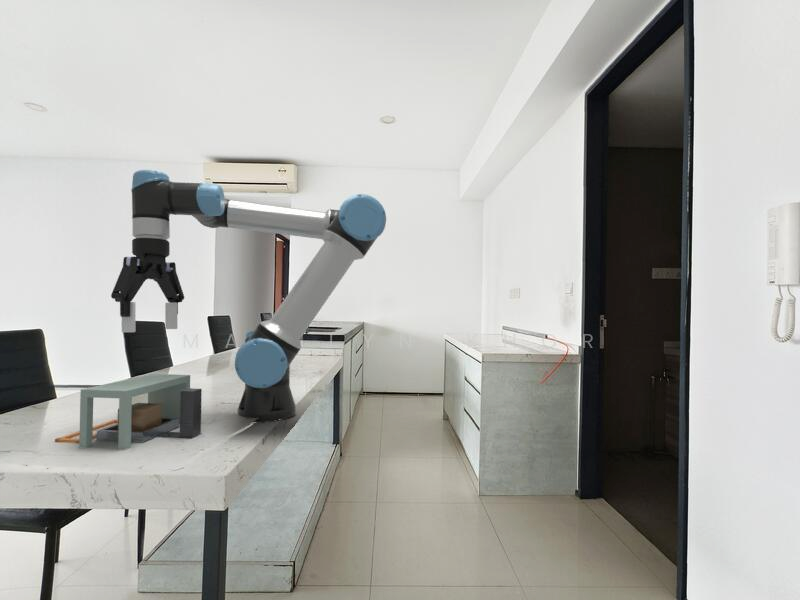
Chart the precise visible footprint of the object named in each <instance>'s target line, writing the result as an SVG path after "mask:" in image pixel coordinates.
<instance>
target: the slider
mask: <svg viewBox="0 0 800 600" xmlns="http://www.w3.org/2000/svg"><path fill="white" fill-rule="evenodd" d="M202 392H203V391H202V388H192V387H190V388H189V389H185V390H182V391H181V400H180V423H179V418H162V424H160V425H158V426H155V427H153V428H150V429H148V430H145V431H143V432H137V431H131V443H136V444H137V443H138V444H145V443H147V442H149V441H151V440H153V439H157V438H167V439H185V440H186V439H187V440H189V439H190V440H191V439H194V438H196V437H198V436H200V435H202ZM117 428H118V423H114V424H111V425H108V426H105V428H104V427H102V428H100V429H97V430H96V432H95V434H96V438H95V441H98V442H114V443H115V442H116V443H117V442H118V436H119V431H117ZM177 429H179V432H178V431H174V430H177Z"/></svg>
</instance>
